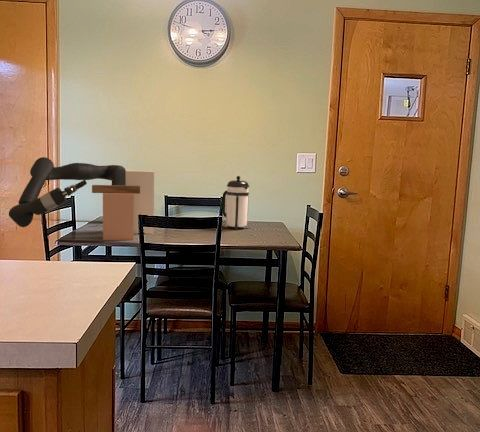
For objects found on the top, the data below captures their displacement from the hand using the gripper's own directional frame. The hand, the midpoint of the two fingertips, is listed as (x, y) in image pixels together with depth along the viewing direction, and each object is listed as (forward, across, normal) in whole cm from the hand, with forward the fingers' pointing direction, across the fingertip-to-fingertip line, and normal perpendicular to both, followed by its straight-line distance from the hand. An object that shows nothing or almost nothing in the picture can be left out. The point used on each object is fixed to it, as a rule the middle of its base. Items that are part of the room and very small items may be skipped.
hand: (85, 182), depth 209 cm
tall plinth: (+9, +15, +36) cm, 40 cm away
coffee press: (+55, +27, +62) cm, 88 cm away
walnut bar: (+10, 0, +11) cm, 15 cm away
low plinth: (0, 0, +31) cm, 31 cm away
